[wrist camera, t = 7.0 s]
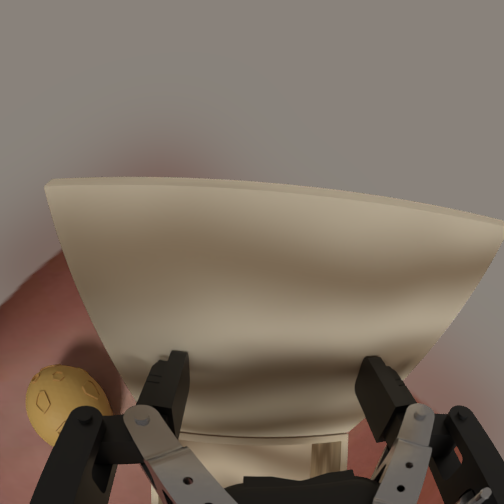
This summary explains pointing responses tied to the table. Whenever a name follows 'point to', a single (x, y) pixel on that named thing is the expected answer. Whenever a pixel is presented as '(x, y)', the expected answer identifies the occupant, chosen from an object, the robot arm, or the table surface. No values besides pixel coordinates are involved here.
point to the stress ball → (61, 398)
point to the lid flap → (265, 289)
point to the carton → (265, 456)
